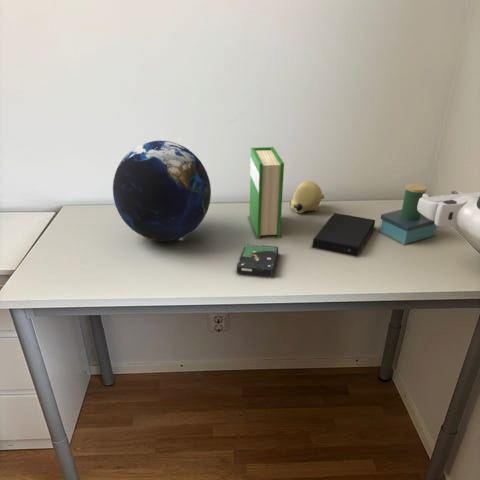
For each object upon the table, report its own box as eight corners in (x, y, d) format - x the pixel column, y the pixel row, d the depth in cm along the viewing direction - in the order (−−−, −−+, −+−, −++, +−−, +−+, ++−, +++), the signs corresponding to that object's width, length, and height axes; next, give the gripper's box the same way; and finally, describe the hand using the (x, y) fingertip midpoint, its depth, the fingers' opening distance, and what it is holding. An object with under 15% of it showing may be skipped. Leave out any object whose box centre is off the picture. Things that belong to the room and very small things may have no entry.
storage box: (408, 223, 177) (412, 206, 173) (435, 236, 168) (439, 218, 165) (378, 231, 171) (381, 214, 167) (404, 245, 162) (408, 227, 159)
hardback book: (279, 237, 167) (284, 163, 153) (257, 238, 166) (259, 164, 152) (270, 216, 181) (273, 147, 168) (249, 217, 180) (250, 147, 167)
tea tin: (409, 211, 170) (415, 182, 164) (424, 218, 165) (430, 188, 159) (396, 215, 167) (401, 185, 161) (410, 222, 162) (416, 191, 157)
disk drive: (272, 278, 144) (278, 254, 156) (273, 269, 143) (278, 245, 155) (236, 275, 146) (244, 251, 158) (236, 266, 144) (244, 243, 156)
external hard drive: (373, 228, 173) (375, 219, 171) (357, 256, 156) (358, 247, 154) (333, 220, 178) (333, 212, 176) (312, 247, 160) (312, 238, 159)
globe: (230, 234, 168) (230, 140, 152) (164, 267, 149) (155, 164, 132) (167, 211, 184) (160, 124, 167) (100, 238, 165) (84, 143, 148)
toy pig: (299, 214, 192) (280, 198, 186) (321, 189, 189) (302, 171, 183) (309, 224, 184) (289, 207, 178) (332, 197, 181) (312, 179, 175)
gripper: (504, 197, 139) (473, 181, 150) (436, 204, 135) (410, 186, 146) (497, 219, 143) (467, 201, 154) (431, 226, 138) (405, 208, 150)
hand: (439, 194), depth 150 cm, fingers open, 8 cm apart
